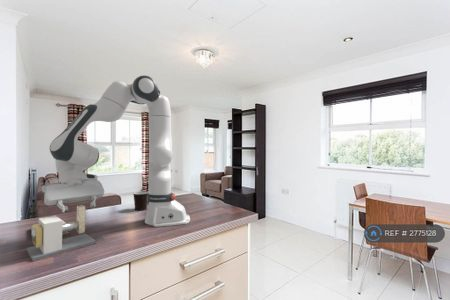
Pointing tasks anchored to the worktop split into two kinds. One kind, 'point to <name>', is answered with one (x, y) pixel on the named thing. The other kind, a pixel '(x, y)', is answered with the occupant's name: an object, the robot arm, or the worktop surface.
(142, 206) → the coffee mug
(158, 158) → the robot arm
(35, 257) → the bearing housing
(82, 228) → the shaft
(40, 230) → the brass collar
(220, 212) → the worktop surface
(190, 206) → the worktop surface
